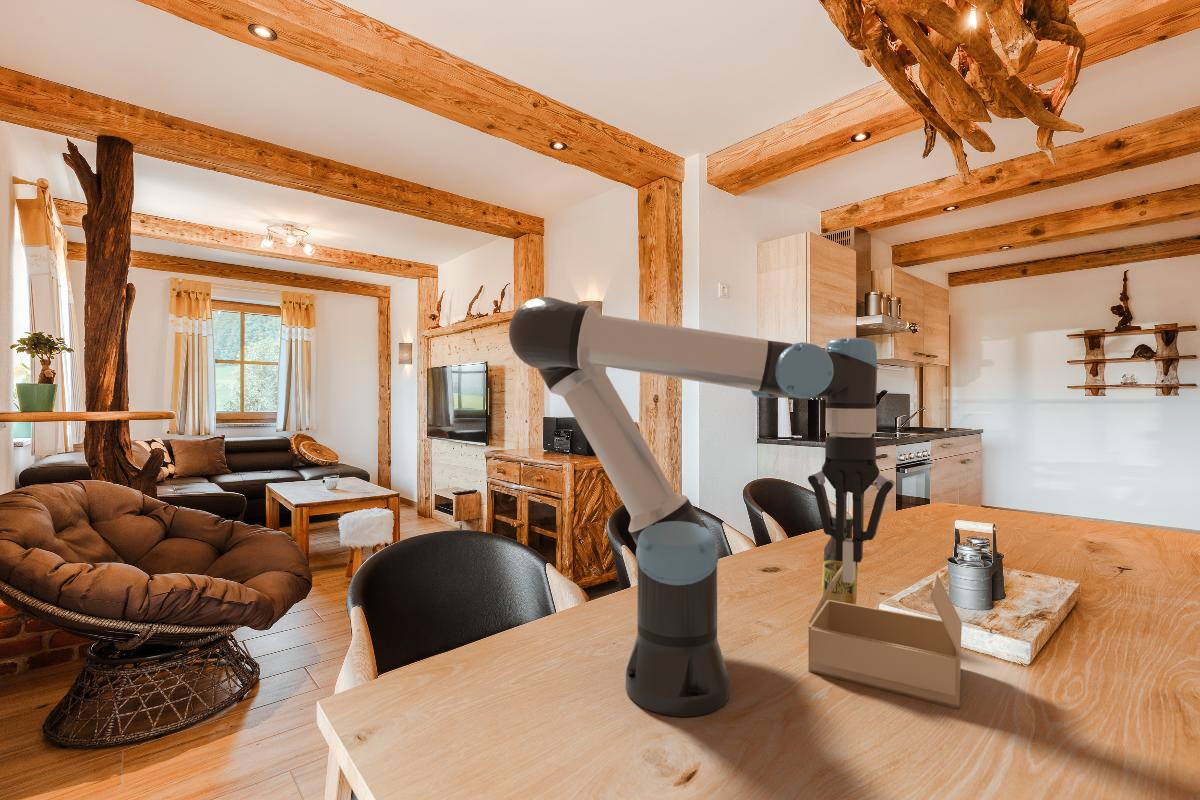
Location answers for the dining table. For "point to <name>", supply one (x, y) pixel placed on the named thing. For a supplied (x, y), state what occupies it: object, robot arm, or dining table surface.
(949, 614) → the flap outer
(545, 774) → the dining table surface
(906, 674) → the carton
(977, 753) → the dining table surface
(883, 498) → the robot arm
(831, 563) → the sauce bottle
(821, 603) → the flap inner
